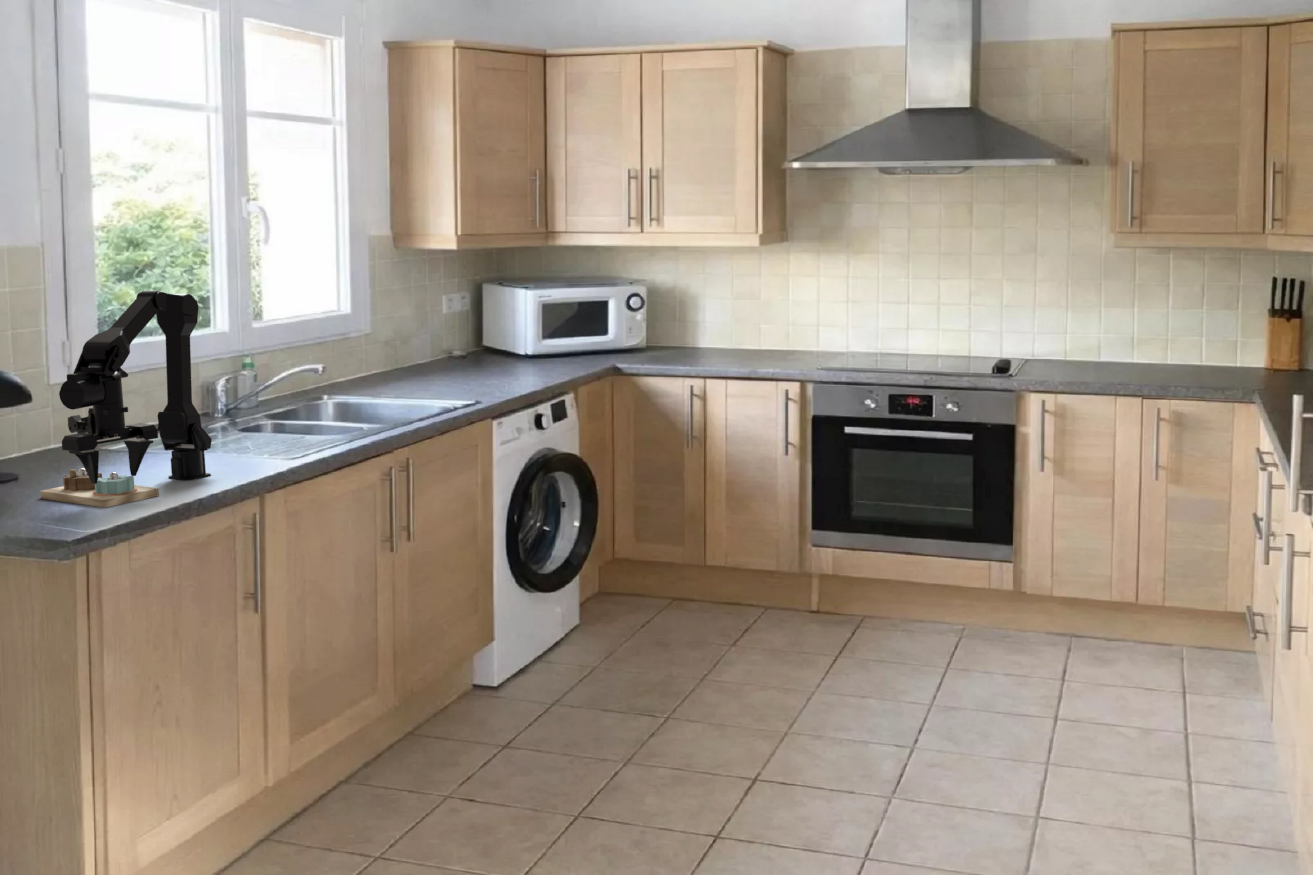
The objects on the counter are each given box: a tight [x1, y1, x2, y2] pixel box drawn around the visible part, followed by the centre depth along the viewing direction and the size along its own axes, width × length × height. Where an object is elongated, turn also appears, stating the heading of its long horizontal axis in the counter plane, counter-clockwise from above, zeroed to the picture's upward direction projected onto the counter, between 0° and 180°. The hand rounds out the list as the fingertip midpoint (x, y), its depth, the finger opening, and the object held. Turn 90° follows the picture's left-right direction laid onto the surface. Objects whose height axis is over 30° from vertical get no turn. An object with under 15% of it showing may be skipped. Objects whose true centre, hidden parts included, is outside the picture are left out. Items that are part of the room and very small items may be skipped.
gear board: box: [39, 484, 160, 508], centre depth 290 cm, size 13×20×2 cm, turn 58°
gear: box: [62, 468, 103, 491], centre depth 293 cm, size 7×7×4 cm
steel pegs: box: [77, 467, 119, 480], centre depth 290 cm, size 2×12×4 cm, turn 58°
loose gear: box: [95, 474, 135, 494], centre depth 287 cm, size 7×7×2 cm
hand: (114, 479), depth 287 cm, fingers open, 9 cm apart
